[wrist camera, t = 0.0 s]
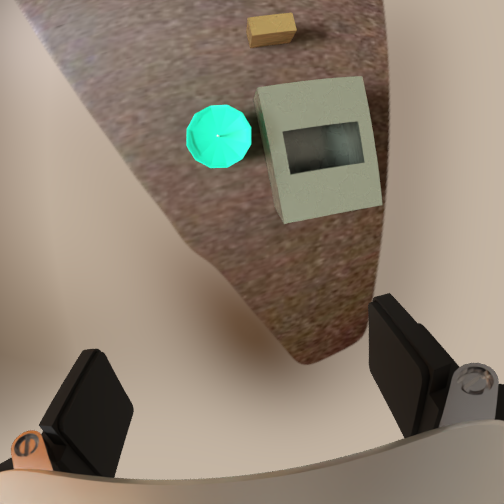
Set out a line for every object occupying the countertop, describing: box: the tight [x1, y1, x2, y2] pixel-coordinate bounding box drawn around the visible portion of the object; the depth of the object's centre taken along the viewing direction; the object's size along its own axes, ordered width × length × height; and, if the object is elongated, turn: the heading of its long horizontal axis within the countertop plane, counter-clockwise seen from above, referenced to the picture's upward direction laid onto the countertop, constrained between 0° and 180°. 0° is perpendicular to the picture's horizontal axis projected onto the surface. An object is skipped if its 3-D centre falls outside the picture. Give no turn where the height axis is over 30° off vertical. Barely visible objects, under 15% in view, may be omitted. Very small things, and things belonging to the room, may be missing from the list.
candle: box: [186, 105, 251, 168], centre depth 32 cm, size 6×6×12 cm
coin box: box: [253, 76, 382, 224], centre depth 34 cm, size 14×11×8 cm
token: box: [246, 13, 297, 48], centre depth 31 cm, size 2×5×5 cm, turn 101°
